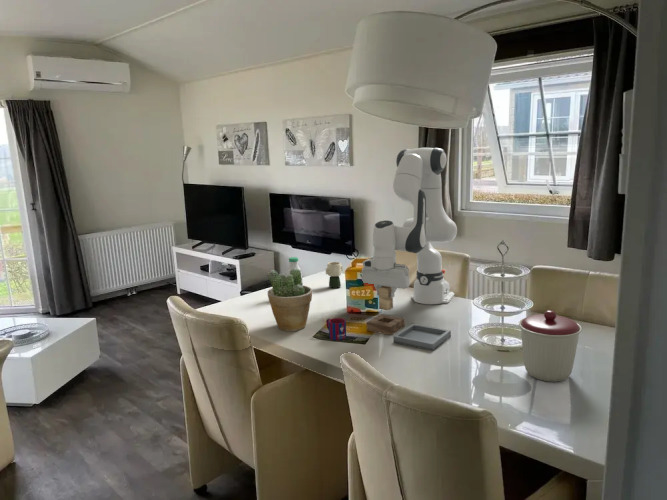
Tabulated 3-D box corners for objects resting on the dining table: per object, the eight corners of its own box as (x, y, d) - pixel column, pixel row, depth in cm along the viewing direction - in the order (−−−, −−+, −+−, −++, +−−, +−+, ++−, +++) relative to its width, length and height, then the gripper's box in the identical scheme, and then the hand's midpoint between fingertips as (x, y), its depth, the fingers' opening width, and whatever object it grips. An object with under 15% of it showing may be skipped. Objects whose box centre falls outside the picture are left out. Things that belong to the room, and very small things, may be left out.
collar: (380, 322, 219) (380, 314, 219) (404, 326, 213) (404, 318, 212) (366, 330, 211) (366, 321, 210) (391, 335, 204) (391, 326, 203)
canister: (531, 358, 178) (533, 298, 174) (587, 373, 165) (591, 309, 161) (507, 376, 165) (509, 312, 161) (566, 393, 153) (569, 324, 148)
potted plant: (294, 316, 231) (291, 261, 226) (323, 325, 218) (321, 267, 213) (261, 327, 219) (257, 269, 214) (289, 338, 205) (286, 276, 201)
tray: (412, 329, 209) (412, 323, 209) (450, 336, 200) (450, 330, 200) (393, 342, 197) (393, 336, 196) (432, 350, 187) (432, 344, 187)
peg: (384, 306, 213) (383, 284, 211) (392, 307, 211) (392, 286, 209) (379, 309, 210) (378, 287, 208) (388, 310, 208) (387, 288, 206)
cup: (334, 341, 200) (334, 324, 198) (321, 334, 208) (321, 317, 207) (349, 337, 203) (349, 321, 202) (336, 330, 212) (335, 314, 210)
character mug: (338, 284, 281) (337, 260, 279) (347, 286, 276) (346, 262, 273) (322, 288, 275) (321, 263, 272) (330, 290, 269) (329, 266, 267)
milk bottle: (304, 298, 257) (302, 258, 253) (288, 300, 256) (286, 260, 252) (302, 294, 265) (300, 255, 261) (286, 295, 263) (284, 257, 259)
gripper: (412, 263, 203) (412, 297, 206) (367, 258, 215) (368, 290, 218) (404, 266, 198) (405, 301, 201) (359, 261, 210) (360, 294, 213)
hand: (385, 296), depth 209 cm, fingers closed on peg, 4 cm apart
